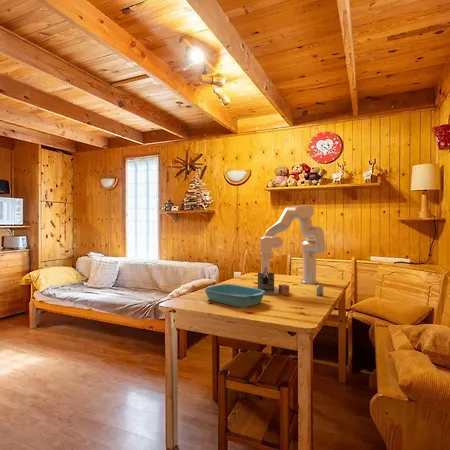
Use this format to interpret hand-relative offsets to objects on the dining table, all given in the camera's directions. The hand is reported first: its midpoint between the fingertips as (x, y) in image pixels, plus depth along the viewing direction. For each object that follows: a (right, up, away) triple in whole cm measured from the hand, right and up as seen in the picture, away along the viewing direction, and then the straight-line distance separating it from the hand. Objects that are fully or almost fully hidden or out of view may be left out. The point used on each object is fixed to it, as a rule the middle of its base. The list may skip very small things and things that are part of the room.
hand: (265, 282), depth 202 cm
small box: (0, -5, 0) cm, 5 cm away
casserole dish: (-21, -6, -25) cm, 33 cm away
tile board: (0, -6, 0) cm, 6 cm away
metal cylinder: (+32, -6, -10) cm, 34 cm away
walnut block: (+11, -6, -3) cm, 13 cm away
